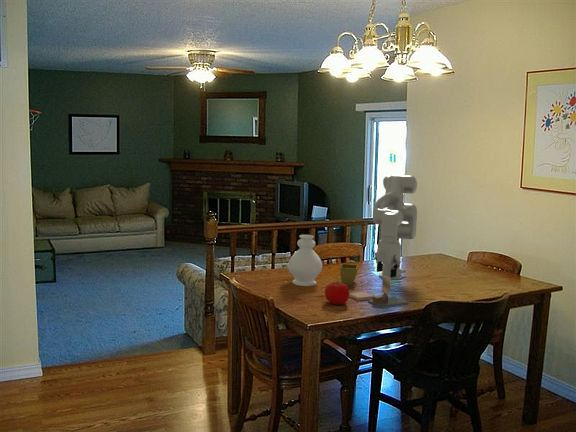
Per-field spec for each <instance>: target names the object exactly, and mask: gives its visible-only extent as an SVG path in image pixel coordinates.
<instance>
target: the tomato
mask: <svg viewBox="0 0 576 432" xmlns="http://www.w3.org/2000/svg"><path fill="white" fill-rule="evenodd" d="M349 293H350V290H349V287H348V286H347V283H344V282H338V281H333V282H330V283H329V284H327V286H326V287H325V289H324V295H325V299H326V300H327V301H328V302H329V303H330V304H334V305H336V306H337V305H338V306H340V305H343V304H345V303H347V302H348V300H349Z"/></svg>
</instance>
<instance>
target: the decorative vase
mask: <svg viewBox="0 0 576 432" xmlns="http://www.w3.org/2000/svg"><path fill="white" fill-rule="evenodd" d="M299 238H300V239H298V240H297V243H296V245H297V246H298V247H299V248H298V250H296V252H294V253H293V254H292V256H290V258H289V260H288V264H287V268H288V271H289V272H290V274H291V276H293V278H294V279H293V280H291V281H292V282H291V283H292V284H293V285H295V286H303V287H313V286H316V285H317V281H316V280H315V279H316V278H317V277H318V276H319V275H320V274H321V272H322V270H323V262H322V260H321V258H320V257H319V255H318V254H317V253H316V251H314V249H313V248H314V247H315V246H316V241H315V240H314V238H315V236H314V235H312V234H300V235H299Z"/></svg>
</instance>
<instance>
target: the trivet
mask: <svg viewBox="0 0 576 432" xmlns="http://www.w3.org/2000/svg"><path fill="white" fill-rule="evenodd" d="M367 303H369V304H371V305H375V306H377V307H378V308H381V309H383V308H384V309H385V307H386V308H391V306H392V307H397V306H396V305H398V306H402V304H404V305H408V304H409V301H407V300H404V299H401V298H399V297H396V296H394V295H393V296H388V302H387V303H380V304H375V303H373V299H370V300H368V302H367ZM407 303H408V304H407Z"/></svg>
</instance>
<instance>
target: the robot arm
mask: <svg viewBox="0 0 576 432" xmlns="http://www.w3.org/2000/svg"><path fill="white" fill-rule="evenodd" d="M382 183H383V188H384V189H385V193H384V195H382V196H381V197H379V198H378V199H377V200H376V201H375V202H374V206H373V207H374V208H373V210H372V211H373V212H372V221H373V222H374V224H375V225H380V236H379V237H380V239H379V241H378V244H377V249H376V252H374V259H375V263H376V272H377V273H379V275H378V276H379V277H380V278H382V279H383V276H386V277H389V278H391V281H393V280H400V279H402V278H403V275H402V274H404V273H405V274H406V272H407V270H406V269H405V268H404V269H401V263H402V261H401V256H402V244H401V243H400V241H399V239H401V240H413V239H415V237H416V235H417V234H416V233H417V224H418V223H417V221H418V208H417V205H415V204H413V203H406V202H404V198H405V194H411V195H412V194H415V193H416V191H417V187H418V181H417V178H416V177H415V176H413V175H408V174H407V175H406V174H392V175H387V176H384V177H383V180H382Z"/></svg>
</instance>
